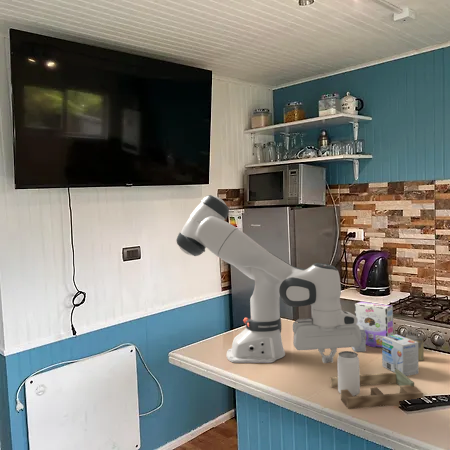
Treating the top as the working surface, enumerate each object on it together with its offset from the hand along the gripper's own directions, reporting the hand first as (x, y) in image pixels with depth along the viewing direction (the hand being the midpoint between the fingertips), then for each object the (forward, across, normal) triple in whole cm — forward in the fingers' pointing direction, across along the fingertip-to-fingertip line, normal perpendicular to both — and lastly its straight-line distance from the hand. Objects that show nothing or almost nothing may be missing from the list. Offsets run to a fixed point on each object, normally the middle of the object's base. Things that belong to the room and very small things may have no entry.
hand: (327, 362), depth 141 cm
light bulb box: (+10, +29, +15) cm, 34 cm away
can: (+10, +6, 0) cm, 12 cm away
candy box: (+10, +31, +42) cm, 53 cm away
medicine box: (+10, +23, +39) cm, 46 cm away
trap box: (+10, +13, -2) cm, 17 cm away
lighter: (+10, +39, +25) cm, 48 cm away
